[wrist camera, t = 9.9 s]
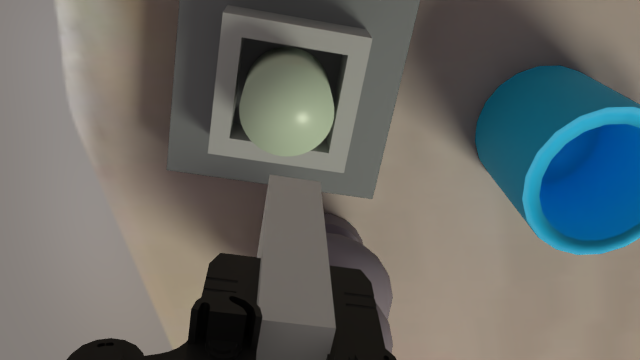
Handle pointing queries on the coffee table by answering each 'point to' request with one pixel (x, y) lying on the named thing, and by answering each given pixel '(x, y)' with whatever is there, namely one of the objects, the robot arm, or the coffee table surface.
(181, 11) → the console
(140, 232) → the coffee table surface
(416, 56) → the coffee table surface
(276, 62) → the sage button
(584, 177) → the mug
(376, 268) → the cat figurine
